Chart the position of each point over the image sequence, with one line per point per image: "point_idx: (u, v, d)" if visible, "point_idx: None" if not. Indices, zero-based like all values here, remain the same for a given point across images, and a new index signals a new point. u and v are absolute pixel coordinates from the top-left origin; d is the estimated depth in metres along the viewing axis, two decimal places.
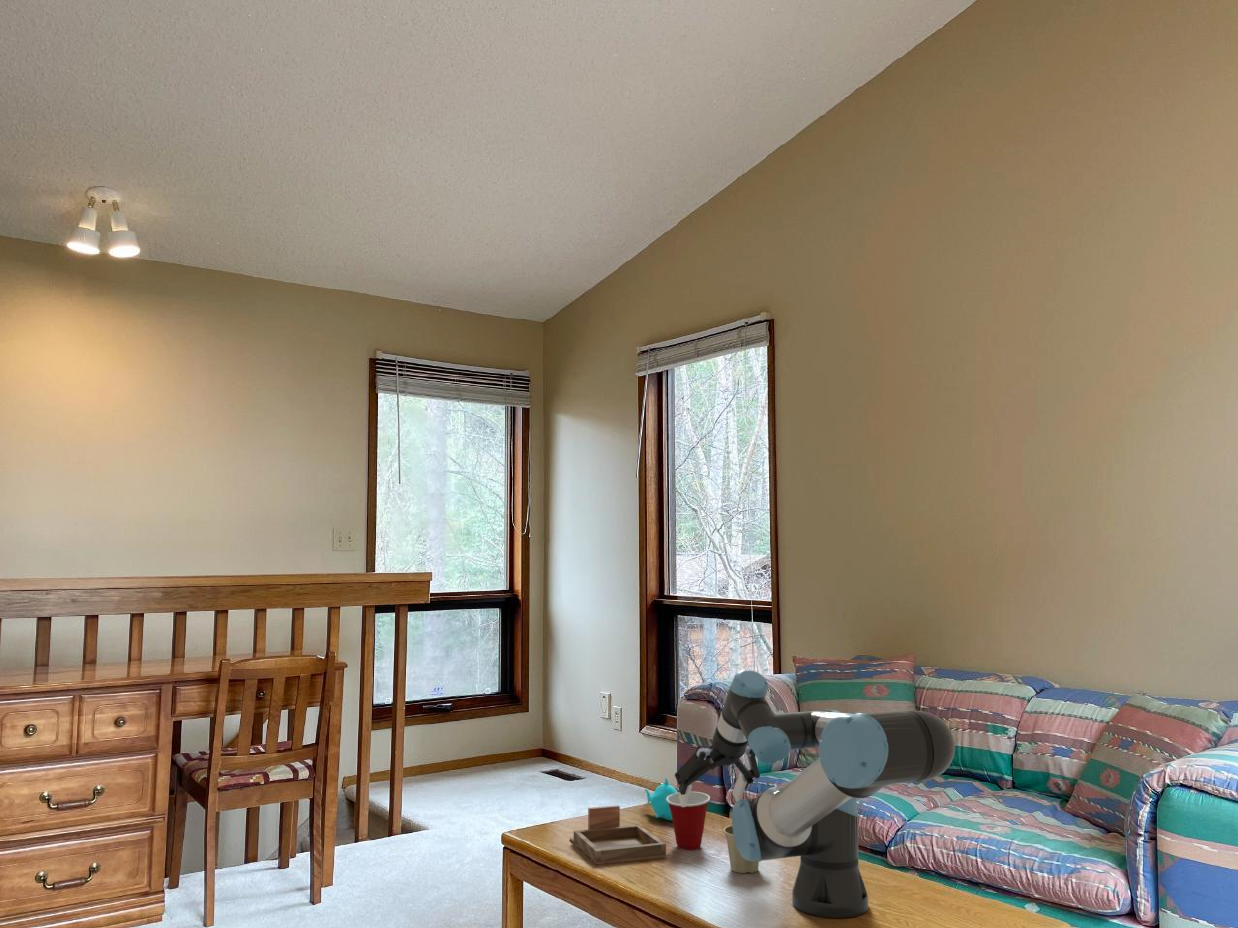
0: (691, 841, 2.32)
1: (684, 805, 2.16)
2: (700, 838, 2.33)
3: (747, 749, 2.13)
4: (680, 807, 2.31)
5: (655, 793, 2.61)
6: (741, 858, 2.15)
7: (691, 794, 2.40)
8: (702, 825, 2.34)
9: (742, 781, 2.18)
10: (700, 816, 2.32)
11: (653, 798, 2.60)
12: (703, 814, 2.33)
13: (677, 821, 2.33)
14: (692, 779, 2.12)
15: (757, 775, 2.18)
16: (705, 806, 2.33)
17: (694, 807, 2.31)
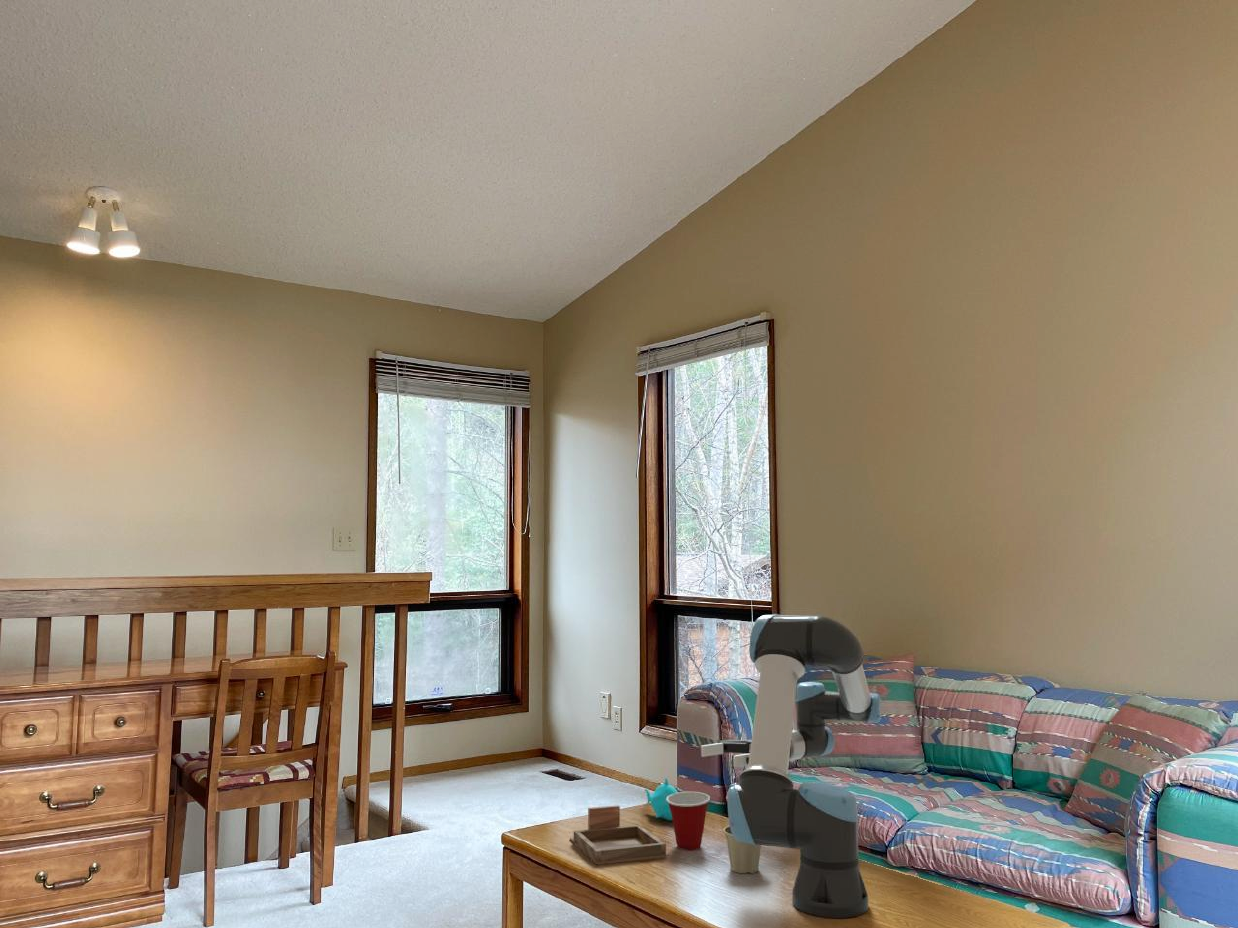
0: (691, 841, 2.32)
1: (703, 745, 2.47)
2: (700, 838, 2.33)
3: None
4: (680, 807, 2.31)
5: (655, 793, 2.61)
6: (741, 858, 2.15)
7: (691, 794, 2.40)
8: (702, 825, 2.34)
9: None
10: (700, 816, 2.32)
11: (653, 798, 2.60)
12: (703, 814, 2.33)
13: (677, 821, 2.33)
14: (728, 742, 2.51)
15: None
16: (705, 806, 2.33)
17: (694, 807, 2.31)
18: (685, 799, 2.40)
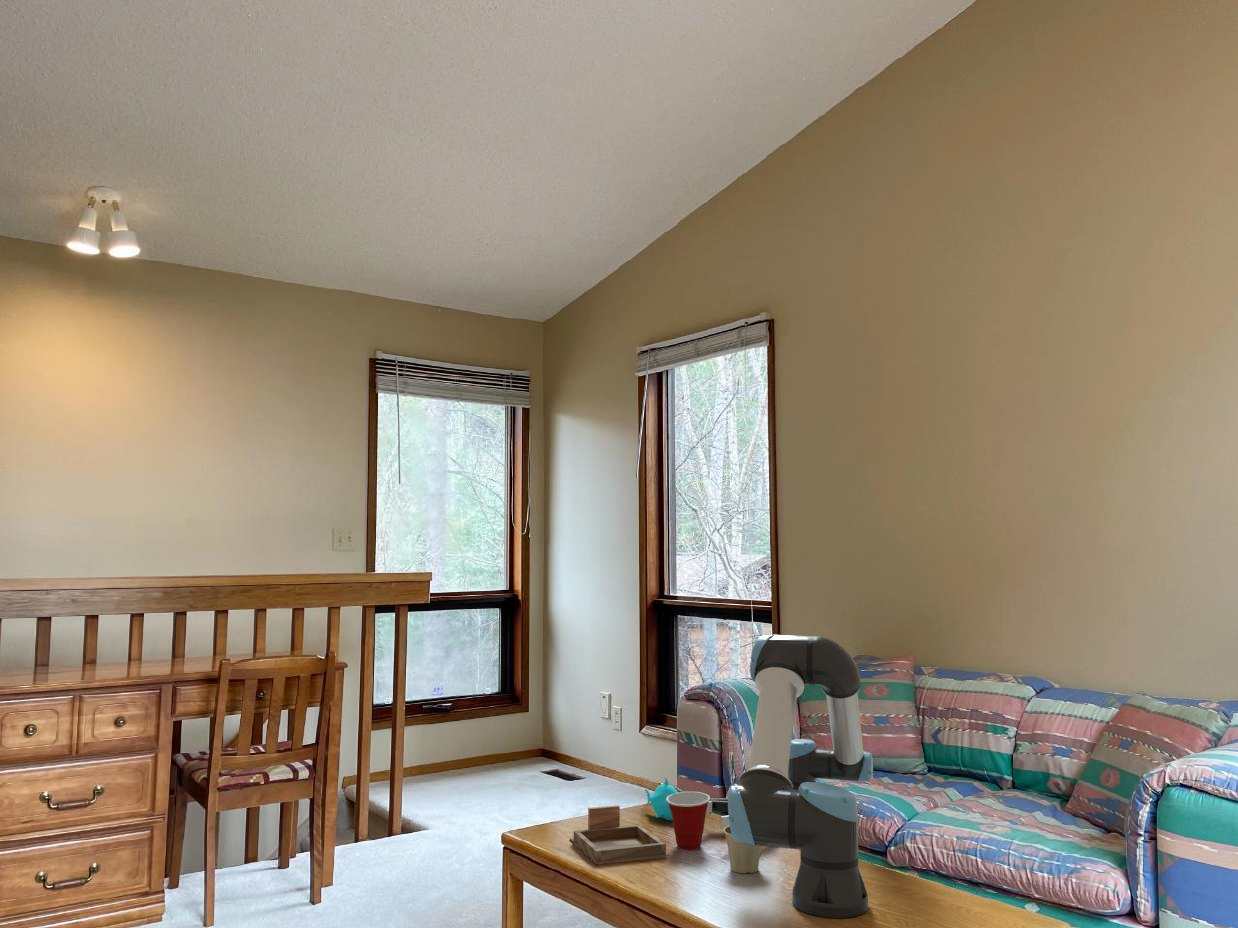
0: (691, 841, 2.32)
1: None
2: (700, 838, 2.33)
3: None
4: (680, 807, 2.31)
5: (655, 793, 2.61)
6: (741, 858, 2.15)
7: (691, 794, 2.40)
8: (702, 825, 2.34)
9: None
10: (700, 816, 2.32)
11: (653, 798, 2.60)
12: (703, 814, 2.33)
13: (677, 821, 2.33)
14: (717, 800, 2.49)
15: None
16: (705, 806, 2.33)
17: (694, 807, 2.31)
18: (685, 799, 2.40)
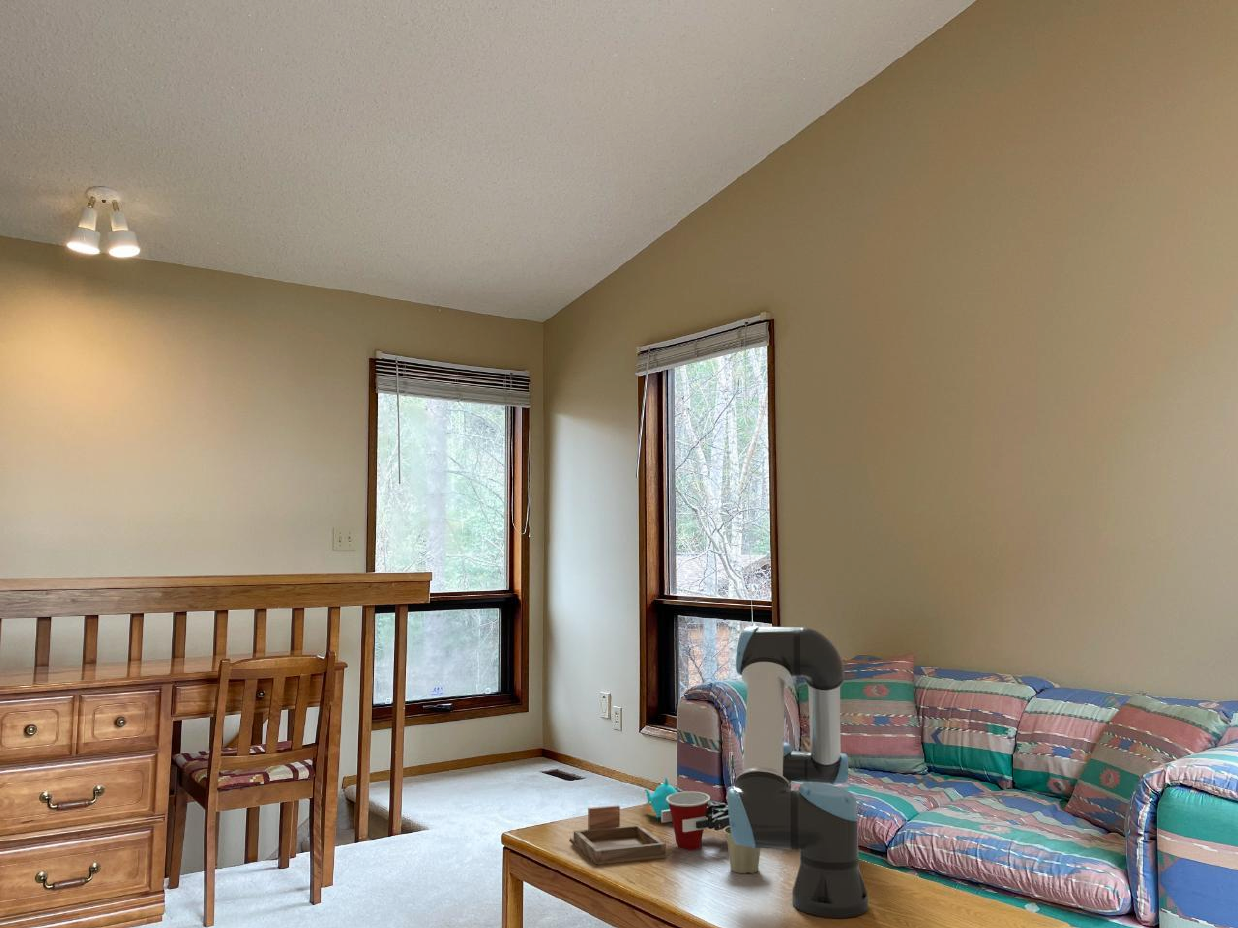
0: (691, 841, 2.32)
1: (663, 810, 2.37)
2: (700, 838, 2.33)
3: None
4: (680, 807, 2.31)
5: (655, 793, 2.61)
6: (741, 858, 2.15)
7: (691, 794, 2.40)
8: None
9: None
10: (700, 816, 2.32)
11: (653, 798, 2.60)
12: (703, 814, 2.33)
13: (677, 821, 2.33)
14: None
15: (718, 818, 2.31)
16: (705, 806, 2.33)
17: (694, 807, 2.31)
18: (685, 799, 2.40)
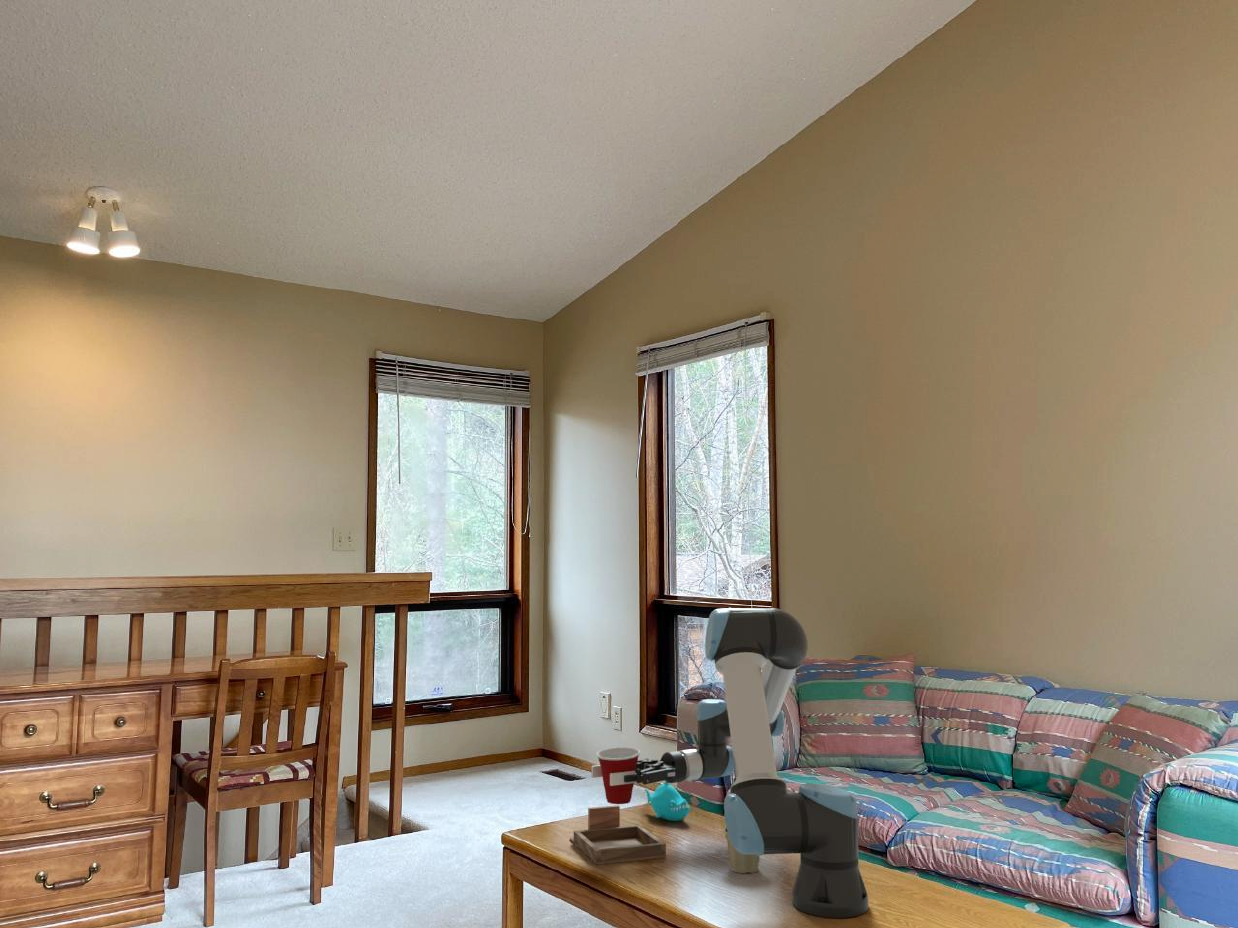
0: (620, 795, 2.30)
1: None
2: (629, 793, 2.31)
3: None
4: (608, 761, 2.30)
5: (655, 793, 2.61)
6: (741, 858, 2.15)
7: (623, 750, 2.39)
8: None
9: None
10: (629, 770, 2.31)
11: (653, 798, 2.60)
12: (632, 768, 2.31)
13: (606, 775, 2.31)
14: None
15: (646, 772, 2.29)
16: (634, 760, 2.31)
17: (622, 761, 2.29)
18: (617, 755, 2.38)
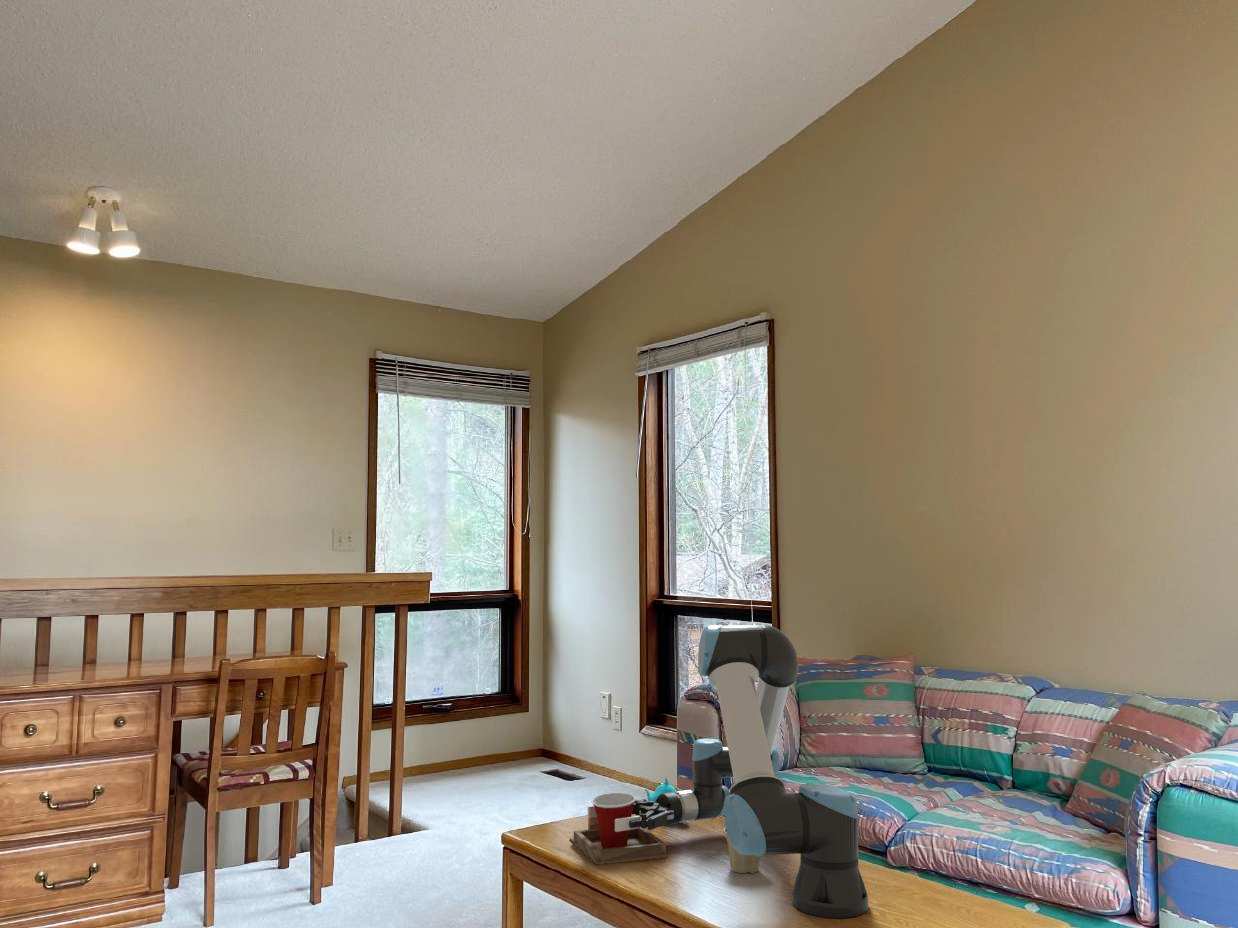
0: (615, 843, 2.28)
1: (590, 806, 2.36)
2: (625, 840, 2.30)
3: None
4: (604, 808, 2.28)
5: (655, 793, 2.61)
6: (741, 858, 2.15)
7: (618, 795, 2.37)
8: None
9: None
10: None
11: (653, 798, 2.60)
12: (628, 815, 2.29)
13: (601, 823, 2.29)
14: None
15: (651, 817, 2.26)
16: (630, 807, 2.30)
17: (618, 808, 2.27)
18: (612, 800, 2.37)
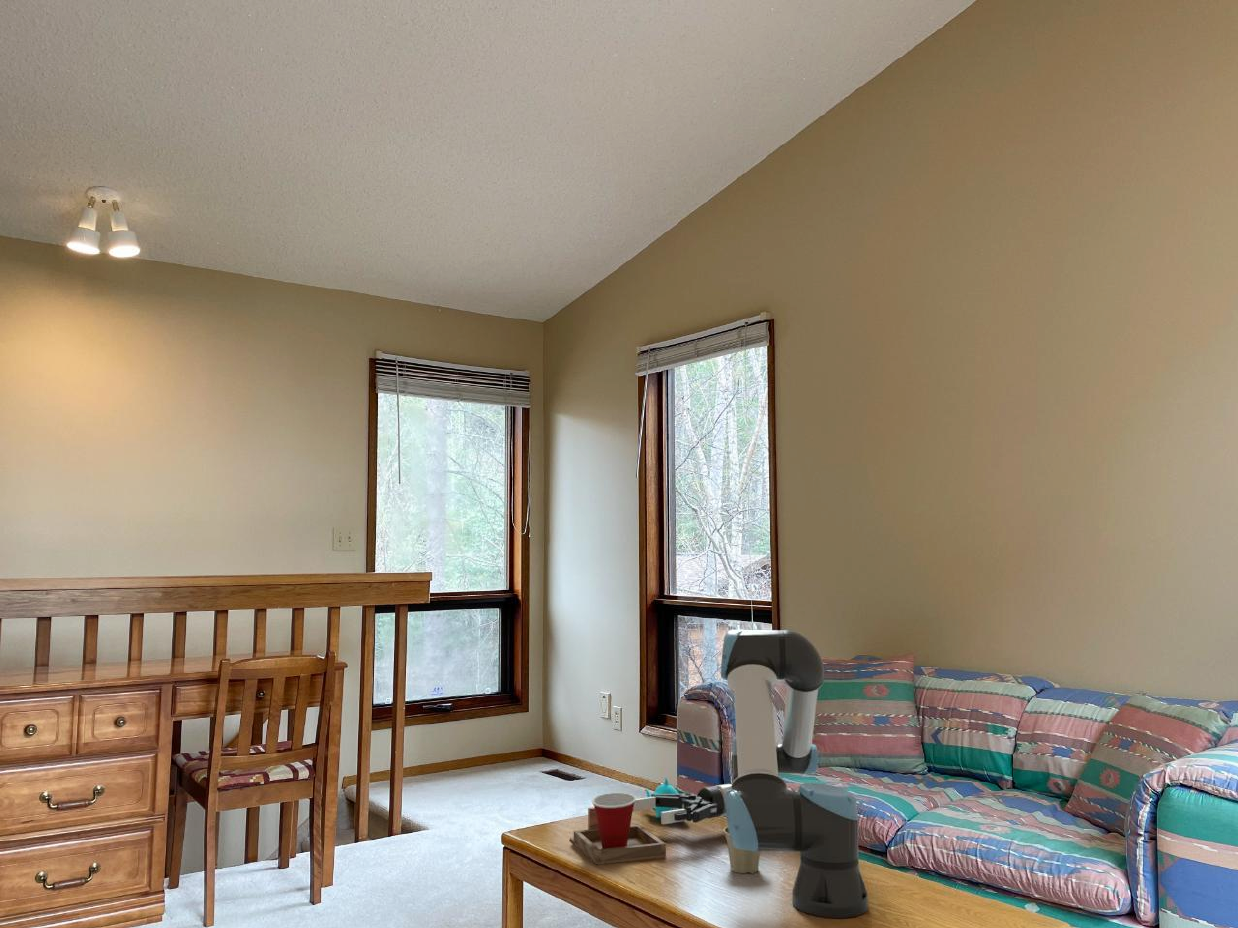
0: (615, 843, 2.28)
1: None
2: (625, 840, 2.30)
3: None
4: (604, 809, 2.28)
5: (655, 793, 2.61)
6: (741, 858, 2.15)
7: (618, 795, 2.37)
8: (628, 827, 2.30)
9: None
10: (625, 818, 2.29)
11: None
12: (628, 816, 2.29)
13: (602, 823, 2.29)
14: (661, 796, 2.47)
15: (696, 810, 2.33)
16: (630, 808, 2.30)
17: (618, 809, 2.27)
18: (612, 800, 2.37)
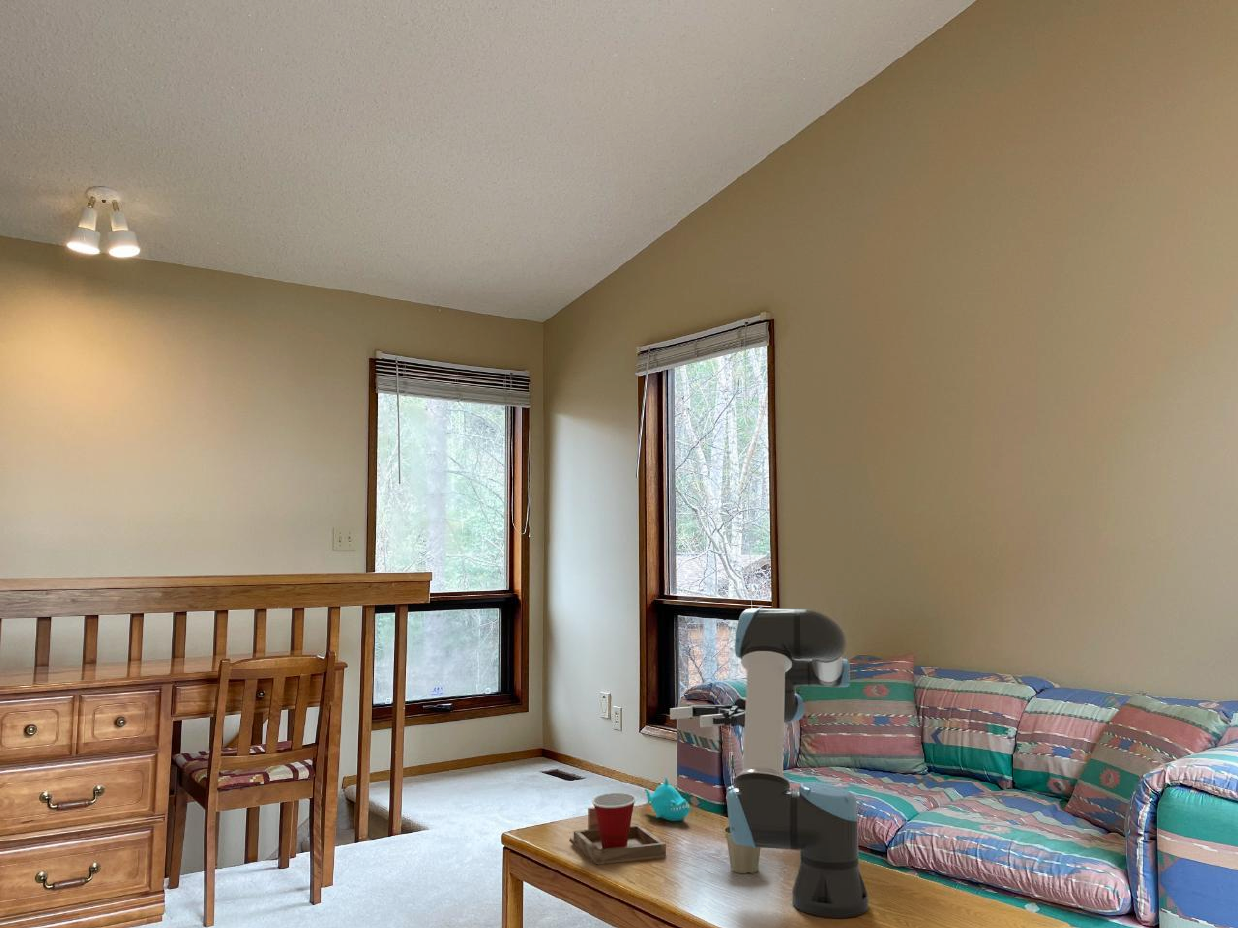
0: (615, 843, 2.28)
1: (672, 708, 2.50)
2: (625, 840, 2.30)
3: None
4: (604, 809, 2.28)
5: (655, 793, 2.61)
6: (741, 858, 2.15)
7: (618, 795, 2.37)
8: (628, 827, 2.30)
9: None
10: (625, 818, 2.29)
11: (653, 798, 2.60)
12: (628, 816, 2.29)
13: (602, 823, 2.29)
14: (697, 706, 2.54)
15: (733, 715, 2.39)
16: (630, 808, 2.30)
17: (618, 809, 2.27)
18: (612, 800, 2.37)
